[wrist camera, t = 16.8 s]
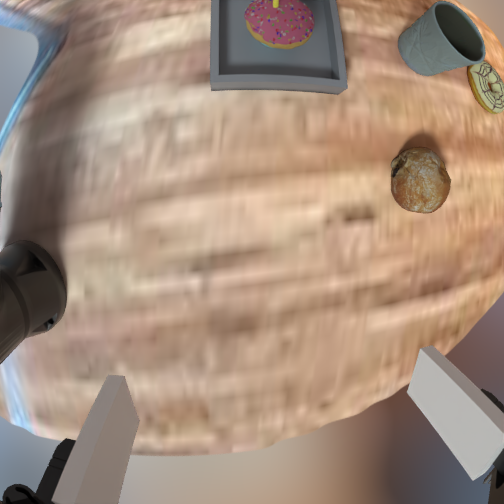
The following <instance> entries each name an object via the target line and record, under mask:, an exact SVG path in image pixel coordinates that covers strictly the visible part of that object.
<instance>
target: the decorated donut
mask: <svg viewBox="0 0 504 504" xmlns="http://www.w3.org/2000/svg"><path fill="white" fill-rule="evenodd" d="M467 75H468V79H469V84H470V86H471V90H472V92H473V94H474V97H475V98H476V100H477V102H478V103H479V104H480V105H481V106H482V107H483V108H484V109H485V110H487V111H488V112H490V113H492V114H498V113H501V112H502V111H503V110H504V83H503V82H502V80H501V78H500V76H499V75H498V73H497V72H496V71H495V69H494V68H493V67H492V66H491V65H489V64H488V63H487V62H485V61H482V62H481V63H479V64H474V65H469V67H468V71H467Z"/></svg>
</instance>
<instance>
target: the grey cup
mask: <svg viewBox="0 0 504 504" xmlns="http://www.w3.org/2000/svg"><path fill="white" fill-rule="evenodd" d="M398 48H399V52H400V54H401V56H402V58H403V60H404V61H405V63H406V64H407V65H408V66H409V67H410V68H411V69H412V70H413V71H415V72H416V73H419V74H420V75H424V76H432V75H435V74H438V73H441V72H443V71H445V70H446V71H449V70H453V69H456V68H461V67H464V66H469V65H474V64H479V63H481V62H482V61H483V60H484V58H485V45H484V41H483V39H482V36H481V34H480V32H479V30H478V28H477V27H476V25H475V24H474V23H473V22H472V20H471V19H470V18H469V17H468V16H467V14H466V13H465V12H463V11H462V10H461V9H460V8H458V7H457V6H455V5H454V4H452V3H450V2H446V1H438V2H436V3H435V4H434V5H432V6H431V7H430V8H429V9H428V10H427V11H426V12H425V13H424V15H422V16H421V17H420V18H419V19H418V20H417V21H415V23H413V24H412V27H409V28H408V29H407V30H406V31H405V32H403V33H402V34H401V36H400V37H399V40H398Z"/></svg>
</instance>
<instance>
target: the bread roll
mask: <svg viewBox="0 0 504 504" xmlns="http://www.w3.org/2000/svg"><path fill="white" fill-rule="evenodd" d="M391 167H392V174H391V191H392V194H393V197H394V198H395V200H396V202H397V203H398V204H399V205H400V206H401V207H402V208H404V209H406V210H408V211H412V212H417V213H431V212H434V211H435V210H437V209H438V208H440V207H441V206H442V204H443V203H444V202H445V200H446V198H447V196H448V194H449V190H450V183H451V179H450V177H449V175H448V173H447V171H446V168H445V165H444V163H443V161H442V160H441V159H440V158H439V156H438V155H437V154H436V153H434V152H433V151H431V150H430V149H428V148H425V147H414V148H411V149H408V150H406V151H404V152H402V153H401V154H400V155H399V157H398V158H395V159H394V160H393V162H392V164H391Z"/></svg>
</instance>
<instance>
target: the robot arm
mask: <svg viewBox="0 0 504 504" xmlns="http://www.w3.org/2000/svg"><path fill="white" fill-rule="evenodd" d="M1 183H2V175H1V171H0V210H1V207H2V203H1ZM65 306H66V291H65V286H64V282H63V279H62V276H61V273H60V271H59V269H58V267H57V265H56V264H55V262H54V260H53V259H52V258H51V256H50V255H49V254H48V253H47V252H46V251H45V250H44V249H43V248H41V247H40V246H39V245H37V244H35V243H33V242H30V241H18V242H15V243H13V244H10V245H8V246H7V247H5V248H4V249H3V250H2V251H1V252H0V364H1V363H2V362H3V361H4V360H5V359H6V358H7V357H8V356H9V354H10V353H11V352H12V351H13V350H14V349H15V348H16V347H17V346H18V345H19V344H20V343H21V342H22V341H23V340H24V339H25V338H28V337H31V336H35V335H38V334H41V333H45V332H47V331H49V330H50V329H52V328H53V327H54V326H55V325H56V324H57V323H58V322H59V321H60V319H61V318H62V316H63V314H64V311H65ZM407 393H408V394H409V396H410V397H411V398H412V399H413V401H414V402H415V403H416V405H417V406H418V407H419V409H420V410H421V411H422V412H423V414H424V415H425V416H426V417H427V419H428V420H429V422H430V423H431V424H432V426H433V427H434V428H435V430H436V431H437V432H438V434H439V435H440V436H441V437H442V439H443V440H444V442H445V443H446V444H447V446H448V447H449V448H450V450H451V451H452V452H453V454H454V455H455V456H456V458H457V459H458V461H459V462H460V463H461V465H462V466H463V467H464V469H465V470H466V472H467V473H468V474H469V476H470V477H471V479H472V480H475V479H476V478H478V477H479V476H481V475H483V474H484V473H485V472H486V471H487V470H488V469H489V467H490V466H491V465H492V464H493V465H494V466H495V468H494V469H493V470H492V471H491V472H490V474H489V475H488V476H487V477H486V478H485V480H484V482H483V483H484V484H485V483H486V482H487V481H488V480H489V479H490V478H491V480H490V481H489V484H491V486H490V494H489V501H488V504H504V406H503V404H502V403H501V402H500V401H498V399H497V398H496V397H495V396H494V395H493V394H492V393H489V392H488V391H486V390H484V389H481V390H480V389H479V388H477V387H476V386H475V385H474V384H473V383H472V382H471V381H470V380H469V379H468V378H467V377H466V376H465V375H464V374H463V373H462V372H460V371H459V370H458V369H457V368H456V367H455V366H454V365H453V364H452V363H451V362H450V361H449V360H448V359H447V358H446V357H444V356H443V355H442V354H441V353H440V352H439V351H438V350H437V349H436V348H435V347H433V346H432V345H431V346H428V347H424V348H420V351H419V355H418V359H417V362H416V365H415V369H414V372H413V375H412V379H411V382H410V385H409V388H408V391H407ZM139 421H140V420H139V417H138V415H137V412H136V409H135V406H134V403H133V401H132V398H131V395H130V392H129V389H128V386H127V383H126V379H125V376H118V375H108V376H107V378H106V380H105V382H104V384H103V386H102V388H101V390H100V392H99V394H98V396H97V398H96V400H95V402H94V404H93V406H92V408H91V410H90V412H89V414H88V417H87V419H86V421H85V423H84V425H83V427H82V429H81V431H80V434H79V436H78V438H77V440H71V439H67V438H66V439H65V440H63V441H62V442H61V443H60V444H59V445H58V446H57V448H56V450H55V452H54V454H53V456H52V459H51V460H50V462H49V466H48V467H47V469H46V471H45V473H44V475H43V478H42V480H41V482H40V484H39V487H38V489H37V491H36V493H34V492H33V491H32V490H31V489H30V488H28V487H27V486H25V485H22V484H14V485H12V486H10V487H8V488H7V489H6V490H5V492H4V494H3V501H0V504H118V502H119V498H120V493H121V489H122V485H123V481H124V476H125V473H126V469H127V465H128V461H129V457H130V454H131V450H132V446H133V443H134V439H135V435H136V432H137V428H138V425H139Z"/></svg>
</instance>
